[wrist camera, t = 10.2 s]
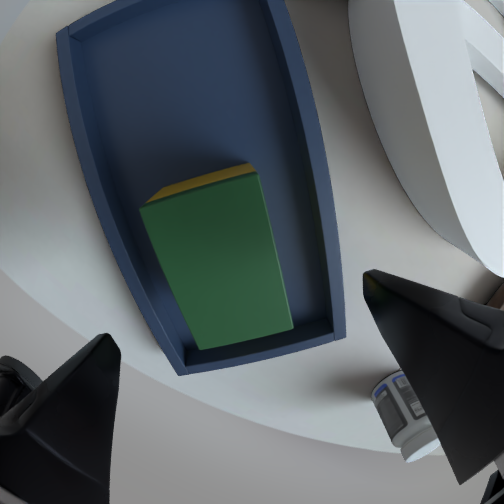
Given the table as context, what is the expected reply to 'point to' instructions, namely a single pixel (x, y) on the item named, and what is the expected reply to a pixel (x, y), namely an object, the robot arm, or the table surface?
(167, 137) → the tray
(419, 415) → the pill bottle
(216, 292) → the sponge
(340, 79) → the table surface
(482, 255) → the ring with crossbar
